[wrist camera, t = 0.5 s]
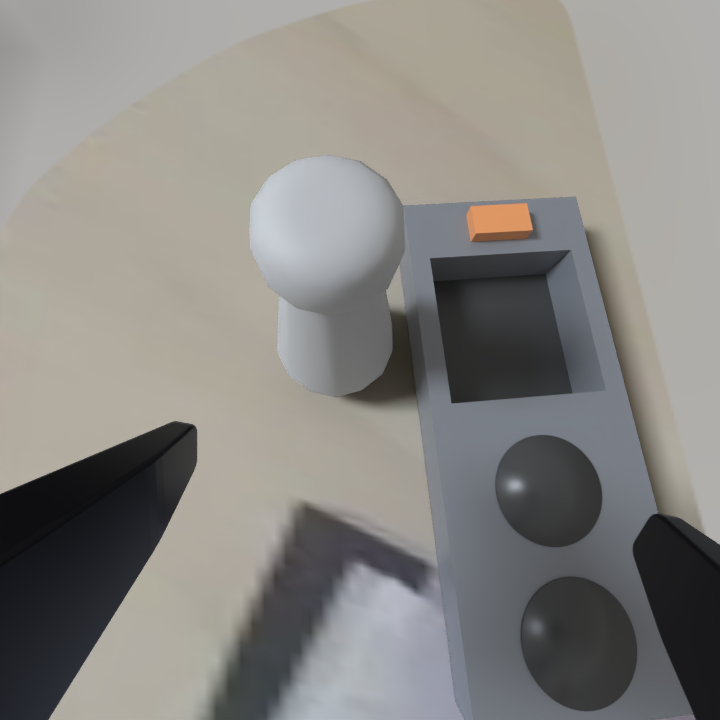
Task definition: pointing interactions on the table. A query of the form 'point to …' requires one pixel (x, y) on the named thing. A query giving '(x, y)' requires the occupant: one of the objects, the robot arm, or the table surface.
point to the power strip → (531, 467)
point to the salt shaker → (330, 268)
